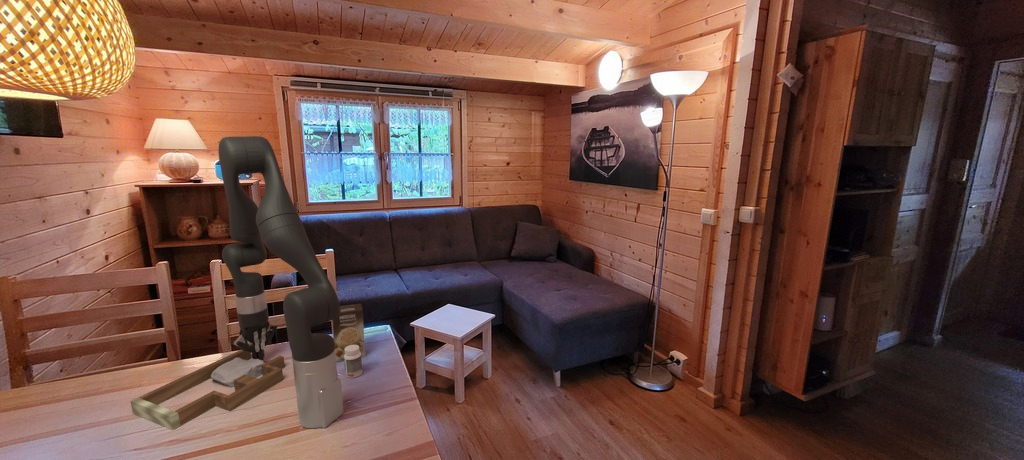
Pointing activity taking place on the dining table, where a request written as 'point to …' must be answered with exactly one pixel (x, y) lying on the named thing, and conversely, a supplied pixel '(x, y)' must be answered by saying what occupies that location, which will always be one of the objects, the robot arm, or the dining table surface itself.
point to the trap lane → (243, 392)
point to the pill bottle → (353, 361)
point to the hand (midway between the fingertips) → (259, 361)
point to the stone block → (237, 370)
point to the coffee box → (348, 330)
